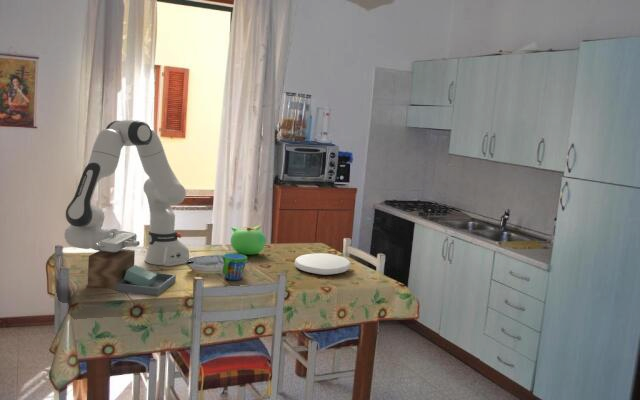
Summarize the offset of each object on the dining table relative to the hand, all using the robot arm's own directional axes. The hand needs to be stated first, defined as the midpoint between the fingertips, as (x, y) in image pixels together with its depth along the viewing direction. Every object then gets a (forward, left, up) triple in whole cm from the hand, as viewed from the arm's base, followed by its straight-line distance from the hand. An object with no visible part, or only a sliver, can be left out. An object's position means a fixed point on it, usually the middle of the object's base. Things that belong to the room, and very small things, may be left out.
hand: (138, 244), depth 242 cm
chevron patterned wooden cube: (+8, -7, -17) cm, 20 cm away
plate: (-91, +8, -17) cm, 93 cm away
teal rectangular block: (+2, -2, -12) cm, 12 cm away
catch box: (-3, +3, -17) cm, 18 cm away
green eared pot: (-71, -29, -17) cm, 78 cm away
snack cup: (-42, +6, -17) cm, 46 cm away
